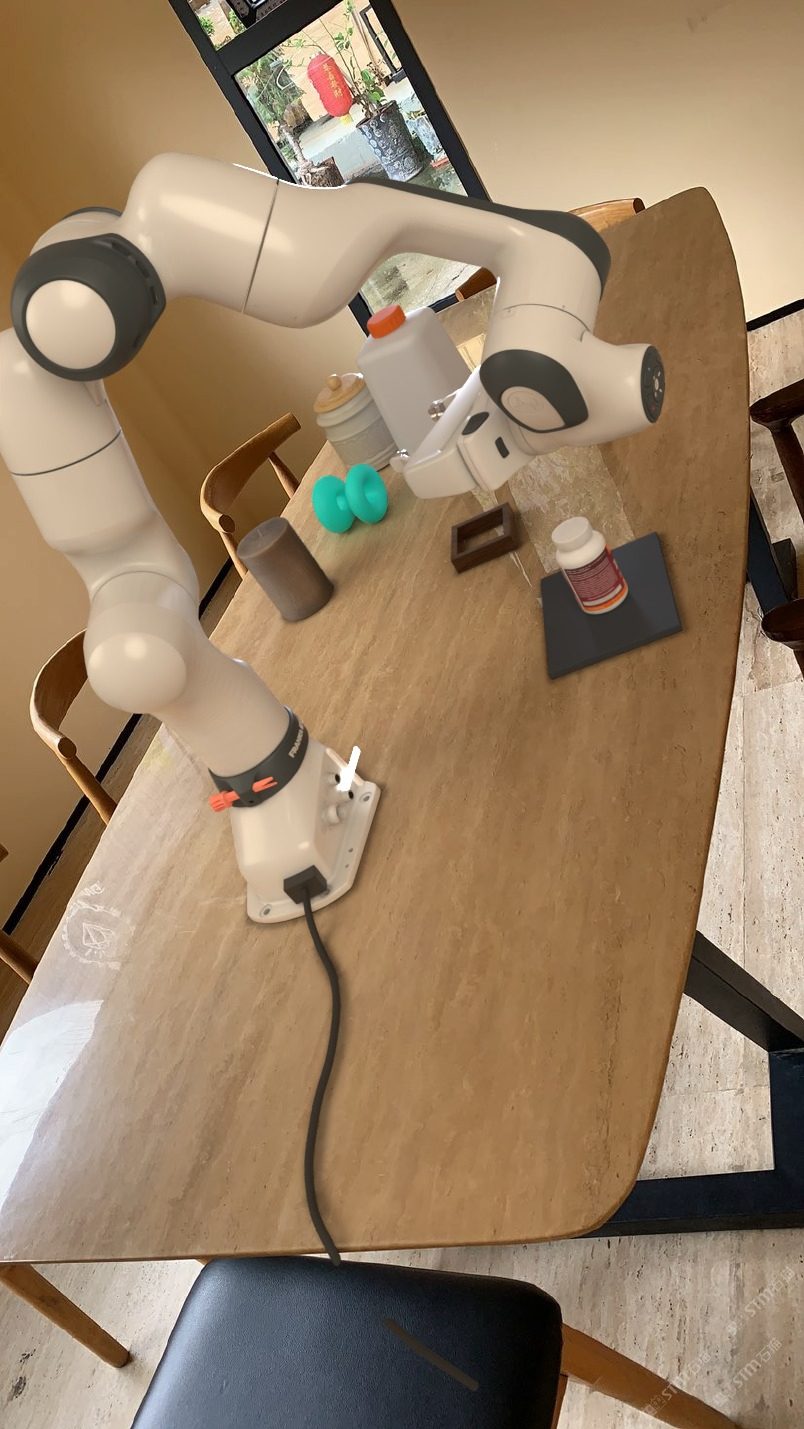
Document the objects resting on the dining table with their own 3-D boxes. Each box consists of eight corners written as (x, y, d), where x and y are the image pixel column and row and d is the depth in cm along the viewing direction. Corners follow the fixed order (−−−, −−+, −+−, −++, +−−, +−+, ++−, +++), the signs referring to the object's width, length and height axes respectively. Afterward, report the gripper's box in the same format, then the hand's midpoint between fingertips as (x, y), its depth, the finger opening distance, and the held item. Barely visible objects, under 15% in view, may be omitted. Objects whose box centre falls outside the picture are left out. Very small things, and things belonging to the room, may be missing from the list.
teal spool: (380, 532, 173) (349, 485, 168) (332, 546, 179) (301, 500, 173) (397, 497, 179) (368, 450, 174) (350, 511, 185) (321, 466, 179)
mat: (683, 630, 117) (680, 624, 117) (551, 679, 123) (548, 674, 122) (658, 536, 132) (656, 530, 132) (543, 584, 138) (540, 579, 138)
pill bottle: (639, 588, 125) (605, 517, 119) (604, 622, 124) (567, 551, 118) (606, 577, 130) (572, 508, 124) (572, 609, 129) (535, 541, 123)
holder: (517, 548, 148) (510, 535, 146) (458, 574, 151) (450, 560, 150) (515, 514, 155) (508, 501, 153) (459, 539, 158) (451, 526, 157)
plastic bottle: (414, 499, 175) (327, 355, 160) (437, 449, 185) (357, 308, 169) (492, 475, 167) (409, 321, 152) (513, 423, 177) (436, 273, 161)
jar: (418, 444, 191) (370, 361, 181) (360, 486, 191) (309, 405, 181) (395, 428, 201) (349, 349, 192) (341, 467, 201) (291, 390, 192)
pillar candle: (341, 575, 169) (291, 502, 161) (324, 614, 163) (271, 540, 155) (294, 590, 174) (243, 520, 166) (275, 628, 168) (221, 557, 160)
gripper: (542, 331, 110) (441, 359, 119) (460, 449, 100) (356, 470, 109) (566, 382, 114) (466, 405, 123) (489, 501, 103) (386, 517, 113)
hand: (414, 437), depth 116 cm, fingers open, 8 cm apart
